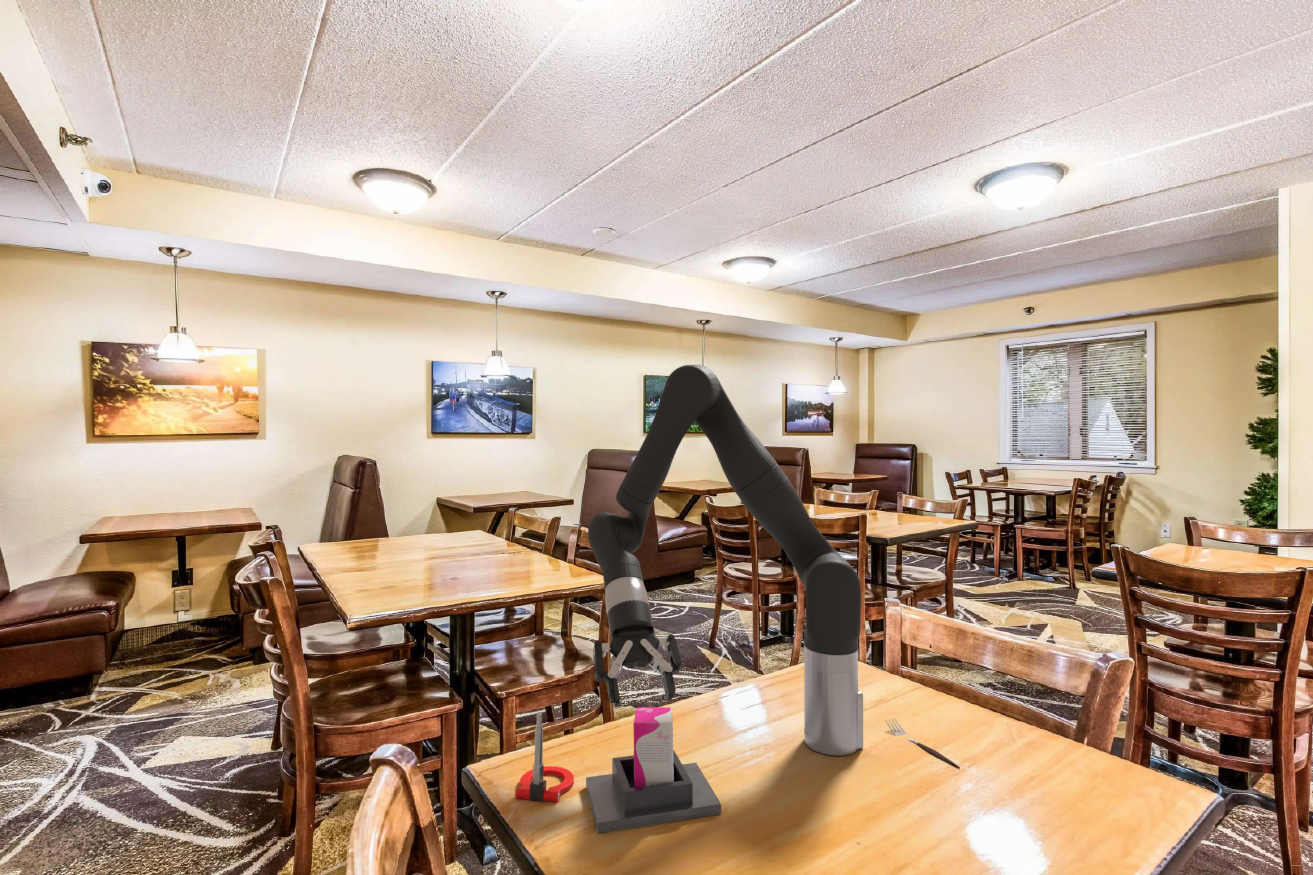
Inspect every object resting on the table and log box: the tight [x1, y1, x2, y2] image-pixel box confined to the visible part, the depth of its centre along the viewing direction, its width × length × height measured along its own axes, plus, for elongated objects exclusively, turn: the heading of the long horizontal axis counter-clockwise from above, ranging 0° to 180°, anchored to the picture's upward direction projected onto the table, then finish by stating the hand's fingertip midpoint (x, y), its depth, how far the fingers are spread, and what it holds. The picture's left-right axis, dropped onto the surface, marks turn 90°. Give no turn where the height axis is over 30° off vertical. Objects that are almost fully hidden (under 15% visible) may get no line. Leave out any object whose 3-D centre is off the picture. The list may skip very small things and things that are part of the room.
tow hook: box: [515, 711, 575, 803], centre depth 100 cm, size 8×13×9 cm
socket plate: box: [585, 749, 722, 834], centre depth 96 cm, size 18×12×4 cm, turn 104°
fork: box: [885, 717, 961, 769], centre depth 112 cm, size 3×16×2 cm, turn 22°
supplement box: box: [633, 706, 674, 788], centre depth 96 cm, size 6×6×12 cm
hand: (644, 701), depth 100 cm, fingers open, 8 cm apart
